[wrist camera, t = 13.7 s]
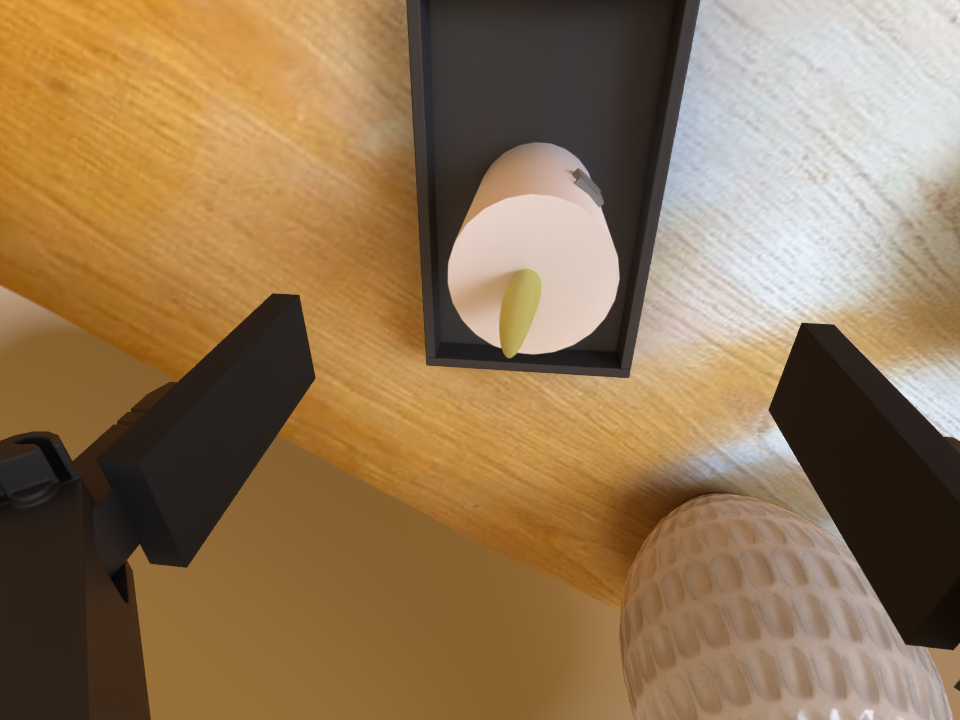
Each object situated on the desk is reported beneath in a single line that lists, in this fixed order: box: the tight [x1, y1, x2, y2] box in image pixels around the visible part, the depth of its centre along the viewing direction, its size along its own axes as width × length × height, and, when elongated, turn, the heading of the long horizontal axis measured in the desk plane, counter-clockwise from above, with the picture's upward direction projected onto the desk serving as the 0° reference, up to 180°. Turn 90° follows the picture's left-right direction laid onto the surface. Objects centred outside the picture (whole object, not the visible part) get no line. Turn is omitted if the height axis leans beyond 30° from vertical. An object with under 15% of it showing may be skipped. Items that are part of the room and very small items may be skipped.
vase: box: [619, 493, 954, 720], centre depth 30 cm, size 16×16×22 cm
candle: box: [448, 142, 620, 358], centre depth 22 cm, size 6×6×15 cm
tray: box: [406, 0, 700, 378], centre depth 27 cm, size 19×12×2 cm, turn 0°
